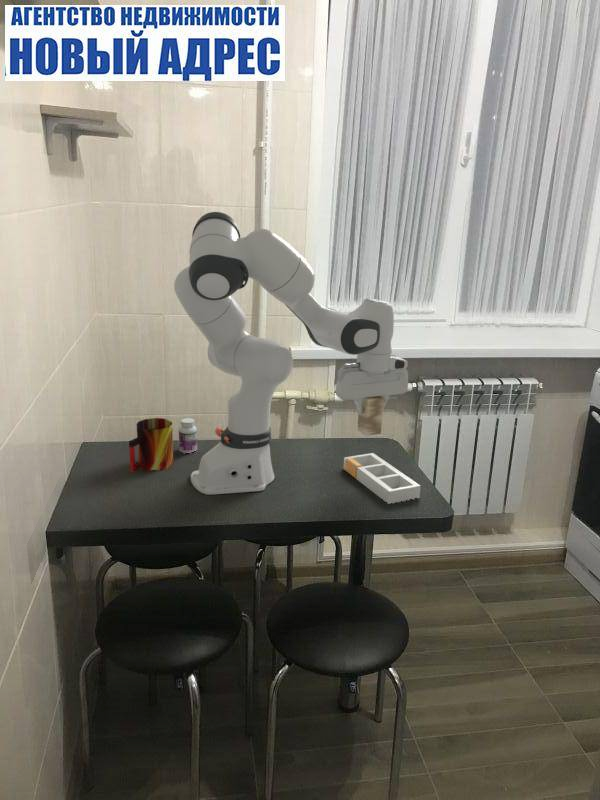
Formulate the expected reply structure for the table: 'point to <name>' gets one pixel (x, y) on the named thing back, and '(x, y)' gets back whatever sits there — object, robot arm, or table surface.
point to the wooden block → (371, 416)
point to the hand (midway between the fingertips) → (370, 411)
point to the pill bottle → (187, 436)
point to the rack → (381, 478)
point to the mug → (152, 445)
